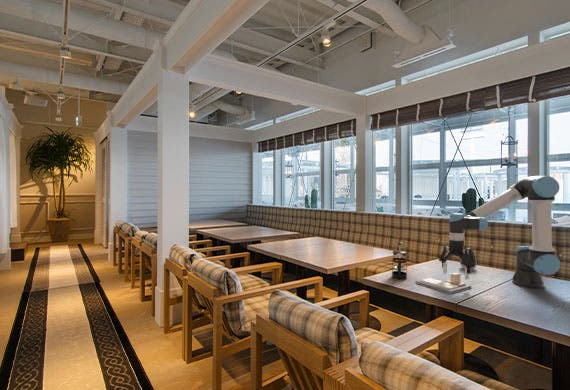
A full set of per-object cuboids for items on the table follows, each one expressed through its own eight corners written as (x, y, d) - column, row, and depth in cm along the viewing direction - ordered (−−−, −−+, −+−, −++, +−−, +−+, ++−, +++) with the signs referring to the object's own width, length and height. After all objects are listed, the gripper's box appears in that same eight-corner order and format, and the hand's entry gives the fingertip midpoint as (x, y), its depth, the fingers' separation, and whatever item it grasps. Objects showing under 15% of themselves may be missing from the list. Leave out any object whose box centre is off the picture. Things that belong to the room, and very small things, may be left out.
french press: (407, 281, 199) (408, 244, 198) (391, 279, 202) (391, 243, 201) (406, 276, 210) (407, 240, 209) (391, 274, 213) (392, 240, 212)
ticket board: (471, 288, 186) (471, 284, 186) (450, 294, 176) (450, 289, 175) (436, 278, 205) (436, 274, 205) (415, 283, 194) (415, 279, 194)
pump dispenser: (456, 267, 233) (456, 246, 232) (469, 267, 234) (470, 246, 234) (465, 271, 223) (466, 249, 222) (479, 270, 224) (480, 249, 223)
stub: (465, 284, 186) (466, 274, 186) (459, 286, 183) (460, 276, 183) (451, 280, 194) (451, 271, 194) (445, 282, 191) (445, 272, 191)
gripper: (433, 237, 197) (432, 272, 197) (474, 243, 175) (473, 282, 176) (440, 236, 200) (439, 270, 201) (481, 242, 179) (480, 280, 180)
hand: (455, 276), depth 189 cm, fingers open, 12 cm apart
